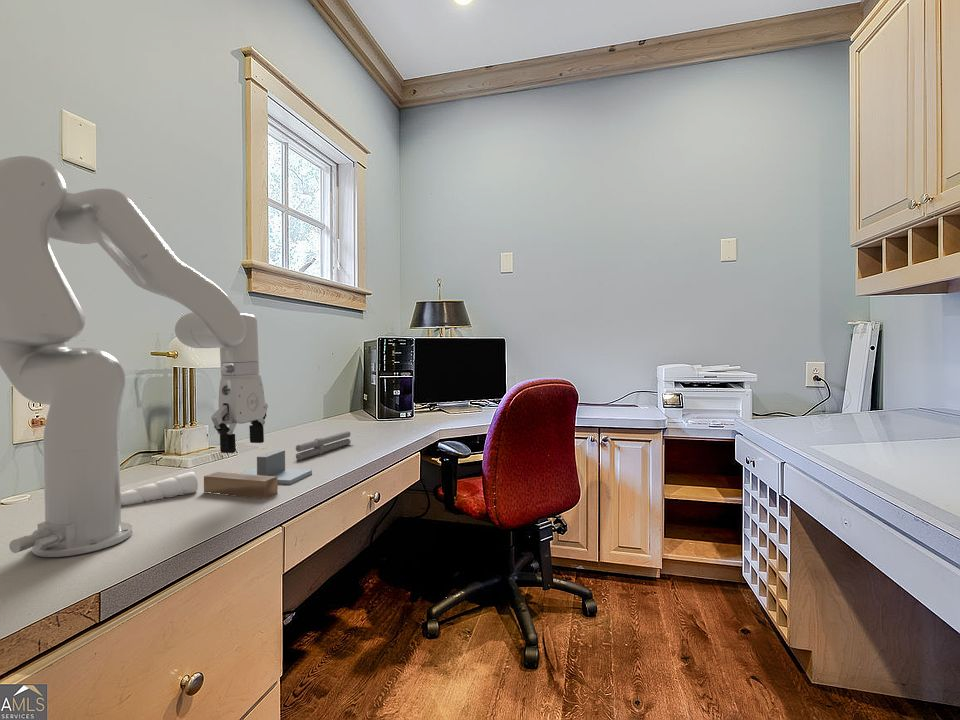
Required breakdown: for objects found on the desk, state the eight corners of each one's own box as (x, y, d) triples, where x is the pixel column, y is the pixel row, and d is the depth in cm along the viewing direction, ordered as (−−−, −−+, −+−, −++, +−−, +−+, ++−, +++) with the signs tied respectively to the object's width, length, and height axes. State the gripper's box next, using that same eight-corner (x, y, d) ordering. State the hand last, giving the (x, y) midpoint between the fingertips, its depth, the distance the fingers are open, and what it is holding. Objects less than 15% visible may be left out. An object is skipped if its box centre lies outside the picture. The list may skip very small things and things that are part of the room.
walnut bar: (264, 500, 102) (264, 481, 102) (203, 494, 106) (203, 476, 106) (277, 494, 106) (277, 476, 105) (218, 489, 110) (218, 471, 110)
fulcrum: (290, 484, 113) (289, 458, 112) (228, 481, 115) (228, 456, 115) (312, 473, 122) (311, 450, 122) (254, 471, 125) (254, 448, 125)
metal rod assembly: (344, 445, 162) (344, 430, 162) (351, 445, 162) (351, 430, 162) (293, 461, 138) (293, 444, 138) (301, 462, 137) (301, 444, 137)
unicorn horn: (54, 513, 94) (54, 488, 93) (194, 490, 109) (194, 469, 109) (54, 519, 90) (54, 494, 90) (199, 495, 106) (198, 473, 106)
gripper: (228, 373, 97) (232, 457, 97) (278, 367, 114) (281, 439, 114) (195, 373, 98) (199, 456, 99) (249, 367, 115) (252, 439, 116)
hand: (243, 447), depth 106 cm, fingers open, 9 cm apart
